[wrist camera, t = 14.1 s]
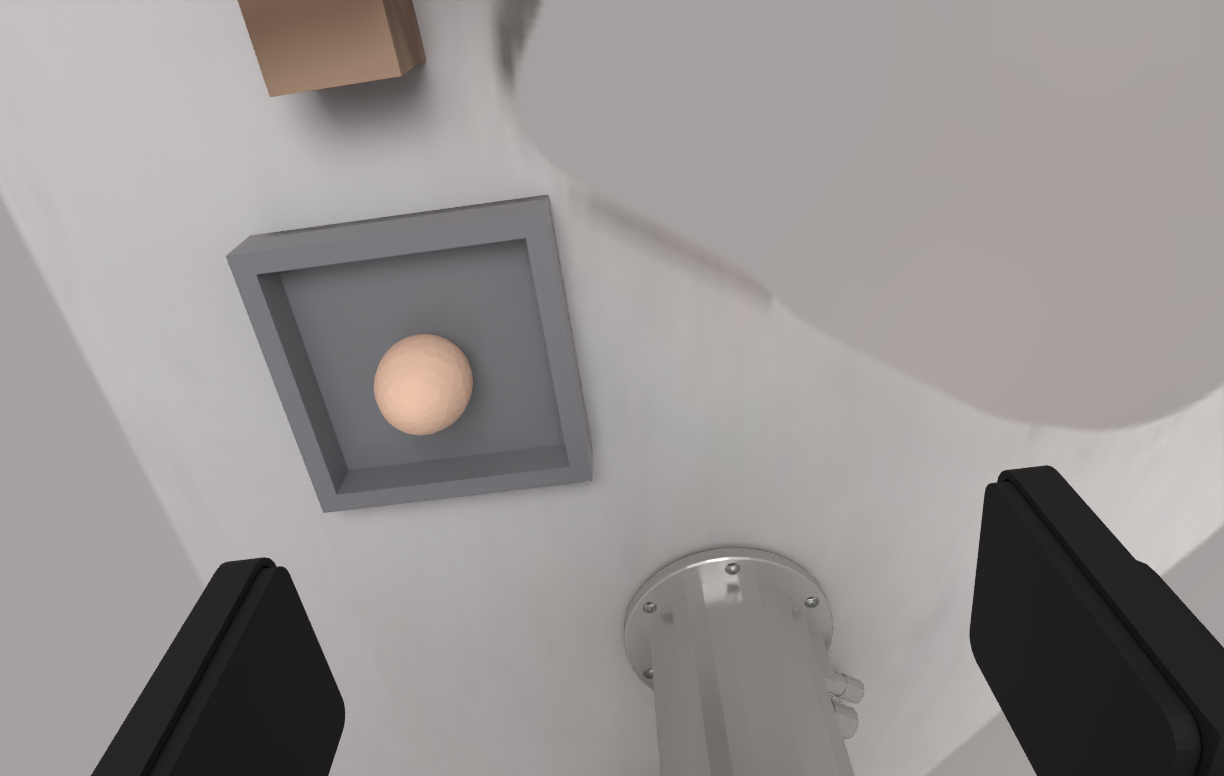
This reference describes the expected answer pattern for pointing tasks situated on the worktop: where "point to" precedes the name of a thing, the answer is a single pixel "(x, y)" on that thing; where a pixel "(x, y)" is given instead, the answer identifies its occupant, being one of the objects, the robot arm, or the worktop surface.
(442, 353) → the egg
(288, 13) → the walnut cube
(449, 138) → the worktop surface
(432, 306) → the dish
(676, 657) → the robot arm
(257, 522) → the worktop surface
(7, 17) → the worktop surface
